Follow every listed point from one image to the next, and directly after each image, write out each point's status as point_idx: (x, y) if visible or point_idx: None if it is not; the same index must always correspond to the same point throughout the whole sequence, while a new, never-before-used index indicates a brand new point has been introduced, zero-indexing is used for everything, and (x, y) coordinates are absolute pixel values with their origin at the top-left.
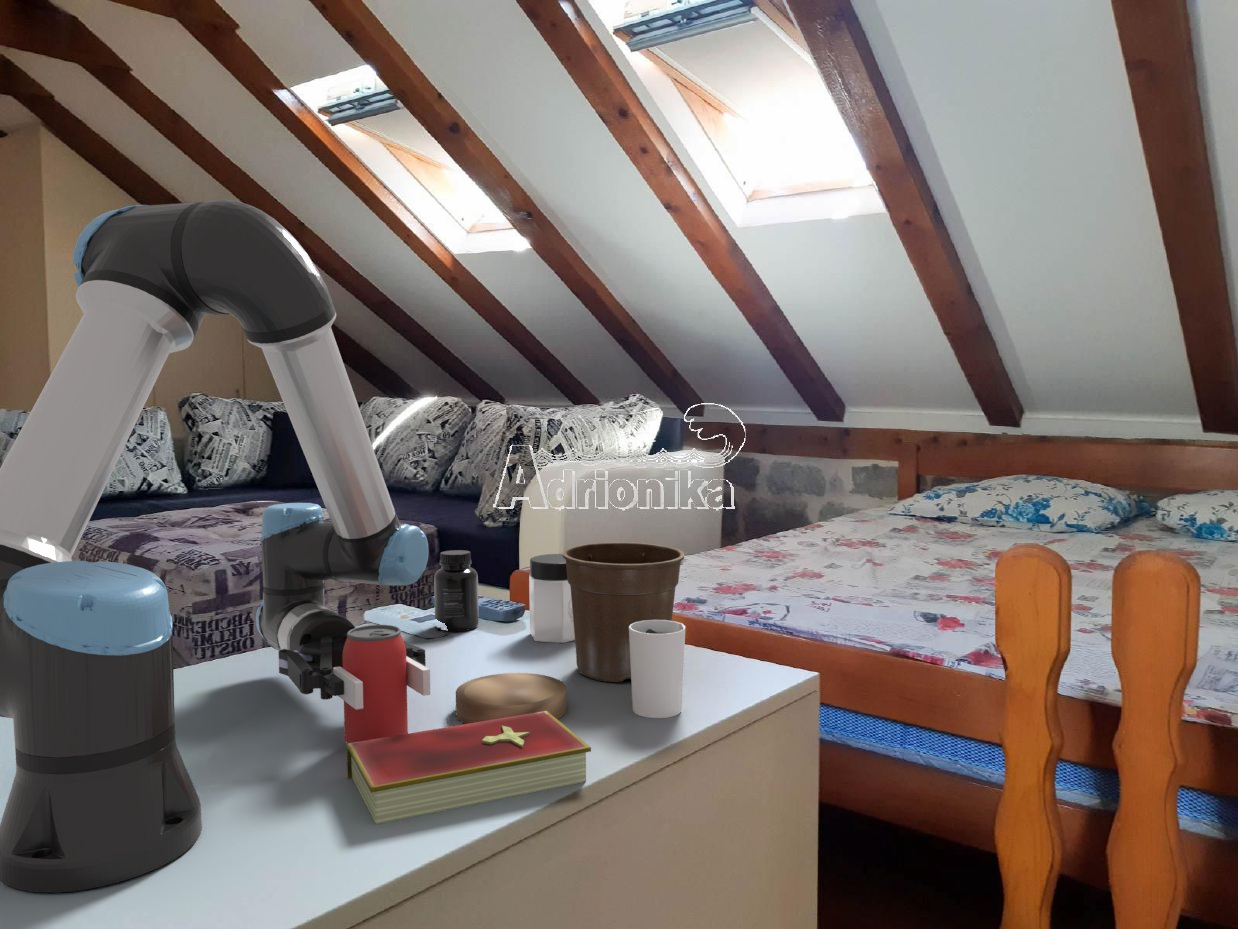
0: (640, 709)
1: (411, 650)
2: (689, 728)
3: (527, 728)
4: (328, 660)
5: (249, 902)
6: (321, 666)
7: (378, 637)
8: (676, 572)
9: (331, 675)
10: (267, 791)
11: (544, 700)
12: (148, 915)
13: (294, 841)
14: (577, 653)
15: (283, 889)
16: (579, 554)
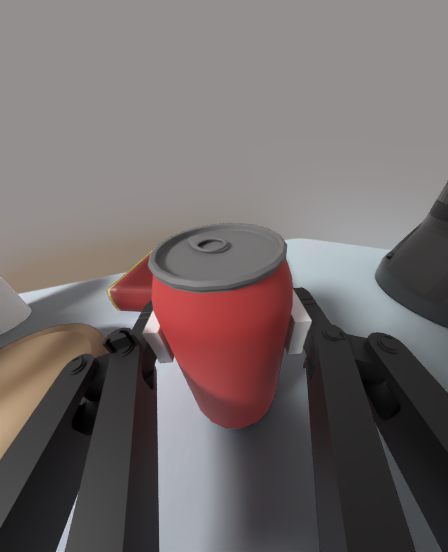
0: (22, 314)
1: (120, 332)
2: (51, 290)
3: (149, 272)
4: (341, 415)
5: (322, 245)
6: (349, 355)
7: (227, 223)
8: None
9: (312, 320)
10: (350, 323)
11: (53, 331)
12: (364, 247)
13: (310, 267)
14: None
15: (309, 247)
16: None
